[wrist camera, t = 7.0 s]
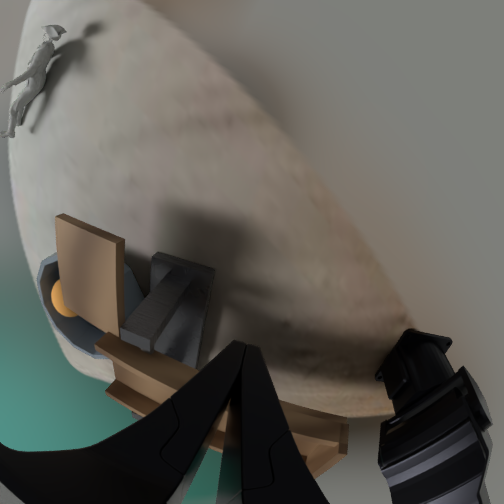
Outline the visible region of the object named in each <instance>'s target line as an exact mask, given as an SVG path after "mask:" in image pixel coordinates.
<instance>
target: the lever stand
mask: <svg viewBox="0 0 504 504" xmlns="http://www.w3.org/2000/svg"><path fill="white" fill-rule="evenodd" d="M214 273H215V269H213V268H210V267H206V266H203V265H200V264H196V263H193V262H190V261H186V260H183V259H180V258H176V257H173V256H170V255H167V254H163V253H160V252H156V253H155V254H154V255H153V256H152V262H151V277H150V293H149V294H148V296H147V297H146V298H145V299H144V300H143V301H142V302H141V304H140V305H139V306H138V307H137V308H136V309H135V311H134V312H133V313H132V314H131V315H130V316H129V318H128V319H127V320H126V321H125V322H124V323H123V325H122V326H121V327H120V334H121V340H123V341H125V342H128V343H130V344H132V345H135V346H137V347H139V348H142V349H144V350H147V351H149V352H150V351H151V349H152V348H153V346H154V350H156V351H158V352H160V353H162V354H164V355H166V356H168V357H170V358H173V359H175V360H177V361H179V362H181V363H183V364H186V365H188V366H190V367H192V368H195V369H197V365H198V359H199V353H200V347H201V342H202V336H203V331H204V325H205V320H206V314H207V309H208V303H209V298H210V293H211V288H212V283H213V278H214ZM132 417H133V418H135V419H137V420H140V419H141V418H143V417H142V416H140V415H138V414H137V413H135V412H133V411H132Z"/></svg>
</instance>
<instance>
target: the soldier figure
mask: <svg viewBox="0 0 504 504" xmlns="http://www.w3.org/2000/svg"><path fill="white" fill-rule="evenodd" d="M42 29H43V30H44V31H45V33H46V34H47V35H48V36H49V40H48V41H46V42H45V41H44V42H43V43H42V44H41V45H39V47H38V48H39V49H38V48H37V49H38V50H37V51H36V52H35V53H34V55H33V56H32V59H31V60H30V61H29V62H28V65H29V63H31V64H30V67H28V68H27V71H26V72H24V73H23V74H22V75H20V76H19V77H17V78H16V79H14V80H13V81H10V82H8V83H6V84H5V85H3V86H2V87H1V92H2V91H3V90H4V91H5V90H6V89H8V88H10V87H11V86H12V85H15V86H16V85H17V84H19V83H21V82H23V81H25V80H26V79H27V80H26V84H25V85H26V87H25V88H24V89H23V90H22V91H21V93H20V94H19V95H18V97H17V99H16V100H15V101H14V102H13V104H12V105H11V107H10V109H9V113H10V119H9V120H8V121H7V122H8V124H9V127H8V131H2V132H1V133H0V136H1V137H3V138H5V137H7V136H9V137H10V138H14V137H15V131H14V130H15V127H16V126H21V118H22V114H23V110H24V106H25V105H26V104H27V103H28V102H30V101H31V100H33V99H34V98H35V96H36V95H37V94H38V93H39V92H40V90H41V89H42V88H43V86H44V85H45V80H46V67H47V65H48V63H49V61H50V59H51V57H52V55H53V52H54V48H55V47H54V44H53V43H52V40H55V41H58V40H59V39H60V37H61V34H63V33H66V31H65V29H64V28H63V27H61V26H59V25H48V26H44V27H42ZM44 35H45V34H44ZM43 38H44V36H43ZM51 39H52V40H51ZM4 91H3V92H4ZM3 92H2V93H3Z"/></svg>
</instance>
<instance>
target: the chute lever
mask: <svg viewBox="0 0 504 504" xmlns="http://www.w3.org/2000/svg"><path fill="white" fill-rule="evenodd" d="M55 228H56V245H57V257H58V267H59V275H60V283H61V289H62V296H63V301H64V305H65V306H66V307H67V308H69V309H70V310H72V311H73V312H75V313H76V314H78V315H79V316H80V317H82V318H83V319H85V320H87V321H88V322H90V323H91V324H93V325H94V326H96V327H97V328H99V329H101V330H102V331H104V332H105V333H106V334H105V335H104V336H103V337H101V338H100V339H99V340H98V341H97V342H96V343H95V344H94V345H95V350H96V351H98V352H99V353H101V354H102V355H104V356H105V357H107V358H109V359H110V360H112V361H113V367H114V372H115V378H116V379H115V380H114V382H113V383H112V384H111V385H110V386H109V387H108V388H107V389H106V390H105V392H106V395H107V396H109V397H110V398H112V399H113V400H115V401H117V402H118V403H120V404H121V405H123V406H125V407H127V408H128V409H130V410H131V411H133V412H135V413H137V414H138V415H140V416H142V417H144V416H146V415H148V414H149V413H150V412H152V411H153V410H154V409H156V408H157V407H158V406H159V405H161V404H162V403H163V402H164V401H165V400H167V399H168V398H170V396H172V395H173V394H174V393H175V392H176V391H177V390H179V389H180V388H181V387H182V386H183V385H184V384H185V383H187V382H188V381H189V380H190V379H191V378H192V377H193V376H195V375H196V374H197V373H198V372H199V370H197V369H195V368H192V367H190V366H188V365H186V364H183V363H181V362H179V361H177V360H175V359H173V358H170V357H168V356H166V355H164V354H162V353H160V352H158V351H156V350H154V346H153V348H152V349H151V351H150V352H149V351H147V350H144V349H142V348H139V347H137V346H135V345H132V344H130V343H128V342H125V341H123V340H121V334H120V327H121V326H122V325H123V323H124V322H125V306H124V251H125V239H123V238H121V237H118V236H116V235H114V234H111V233H109V232H106V231H104V230H102V229H99V228H97V227H94V226H92V225H90V224H87V223H85V222H83V221H80V220H78V219H76V218H73V217H71V216H69V215H66V214H64V213H63V214H60V215H58V216H55ZM230 399H231V398H230ZM279 401H280V404H281V407H282V409H283V412H284V414H285V417H286V420H287V422H288V425H289V428H290V429H289V430H291V432H292V435H293V438H294V440H295V443H296V445H297V447H298V449H299V452H300V454H301V456H302V458H303V460H304V462H305V463H306V465H307V467H308V469H309V471H310V472H311V474H312V476H313V477H314V479H315V478H317V477H318V476H320V475H321V474H323V473H324V472H325V471H327V470H328V469H329V468H331V467H332V466H333V465H335V464H336V463H337V462H339V461H340V460H341V459H342V458H344V457H345V456H346V455H347V450H348V449H347V448H348V432H349V424H347V417H343V416H338V415H334V414H329V413H325V412H321V411H317V410H313V409H309V408H305V407H302V406H298V405H295V404H291V403H288V402H284V401H281V400H279ZM229 403H230V401H229ZM228 408H229V404H228V406H227V409H226V411H225V413H224V416H223V418H222V420H221V422H220V424H219V427H218V429H217V431H216V433H215V435H214V437H213V439H212V442H211V444H210V446H209V448H210V449H213V450H216V451H218V452H221V453H222V452H223V445H224V437H225V430H226V422H227V415H228Z"/></svg>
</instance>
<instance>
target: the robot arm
mask: <svg viewBox="0 0 504 504" xmlns="http://www.w3.org/2000/svg"><path fill="white" fill-rule="evenodd" d="M408 334H409V335H408ZM407 335H408V336H407ZM451 344H452V340H451V339H450V338H449V337H444V336H439V335H434V334H429V333H424V332H420V331H415V330H410V329H408V330H406V331H404V333H403V334H402V336H401V337H400V339H399V340H398V342H397V344H396V345H395V347H394V348H393V350H392V351H391V352H390V354H389V355H388V357H387V358H386V360H385V361H384V363H383V364H382V365H381V367H380V368H379V370H378V371H377V373H376V374H375V380H376V381H382V382H384V383H385V387H386V391H387V395H388V398H389V399H391V400H392V403H393V407H394V411H395V416H394V417H392V418H390V419H388V420H385V421H383V422H382V423H381V428H380V442H379V452H378V465H379V466H380V469H381V472H382V474H383V475H384V477H385V478H386V480H387V482H388V485H389V488H390V492H391V498H392V503H393V504H491V503H490V499H489V496H488V492H487V489H486V486H485V477H486V473H487V469H488V465H489V461H490V456H491V451H492V441H491V438H490V435H489V433H488V430H487V429H488V428H489V427H490V426H492V425H493V423H492V419H491V416H490V413H489V409H488V406H487V403H486V400H485V399H484V396H483V395H482V392H481V391H480V389H479V387H478V385H477V383H476V382H475V381H474V379H473V378H472V377H471V375H470V374H469V372H468V371H467V370H466V368H465V367H464V366H462V367H461V368H460V369H459V371H458V372H456V373H455V372H454V370H453V368H452V366H451V365H450V363H449V361H448V359H447V357H446V355H445V353H446V352H447V350H448V349H449V347H450V346H451ZM230 398H231V399H230ZM229 401H230V403H229ZM228 404H229V408H228V415H227V422H226V430H225V437H224V445H223V452H222V460H221V468H220V475H219V483H218V490H217V498H216V504H330V503H329V502H328V500H327V499H326V497H325V496H324V494H323V492H322V491H321V489H320V488H319V486H318V484H317V482H316V481H315V479H314V477H313V476H312V474H311V472H310V471H309V469H308V467H307V465H306V463H305V462H304V460H303V458H302V456H301V454H300V452H299V449H298V447H297V445H296V443H295V440H294V438H293V435H292V432H291V430H289V429H290V428H289V425H288V422H287V420H286V417H285V414H284V412H283V409H282V407H281V404H280V401H279V399H278V396H277V393H276V390H275V388H274V385H273V382H272V380H271V377H270V374H269V371H268V369H267V366H266V363H265V360H264V358H263V355H262V352H261V349H260V347H259V346H256V345H252V344H247V345H246V343H245V342H241V341H238V340H233V341H232V342H231V343H230V344H229V345H228V346H227V347H226V348H225V349H223V350H222V351H221V352H220V353H219V354H218V355H217V356H216V357H215V358H214V359H212V360H211V361H210V362H209V363H208V364H207V365H206V366H205V367H204V368H202V369H201V370H200V371H199V372H198V373H197V374H196V375H195V376H193V377H192V378H191V379H190V380H189V381H188V382H187V383H185V384H184V385H183V386H182V387H181V388H180V389H179V390H177V391H176V392H175V393H174V394H173V395H172V396H170V398H168V399H167V400H165V401H164V402H163V403H162V404H161V405H159V406H158V407H157V408H156V409H154V410H153V411H152V412H150V413H149V414H148V415H146V416H144V417H143V418H141V419H140V420H138V421H137V422H135V423H133V424H132V425H130V426H128V427H126V428H125V429H123V430H121V431H119V432H117V433H116V434H114V435H112V436H110V437H108V438H107V439H105V440H103V441H101V442H99V443H97V444H94V445H92V446H89V447H85V448H80V449H72V450H60V451H37V452H25V451H17V450H13V449H10V448H8V447H6V446H4V445H3V444H2V443H1V442H0V504H181V503H182V501H183V499H184V497H185V495H186V493H187V491H188V489H189V487H190V485H191V483H192V481H193V479H194V477H195V475H196V472H197V471H198V469H199V467H200V465H201V463H202V461H203V458H204V456H205V454H206V452H207V450H208V448H209V446H210V444H211V442H212V439H213V437H214V435H215V433H216V431H217V429H218V427H219V424H220V422H221V420H222V418H223V416H224V413H225V411H226V409H227V406H228Z"/></svg>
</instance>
